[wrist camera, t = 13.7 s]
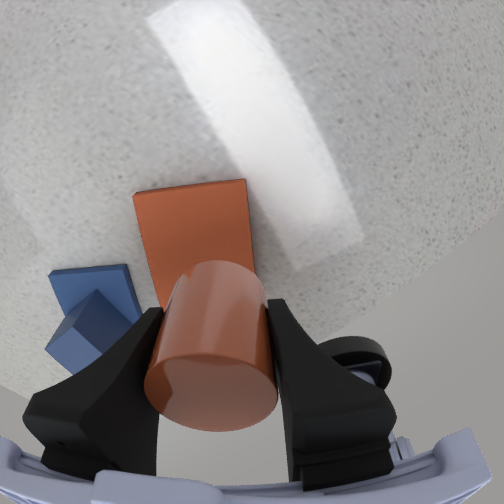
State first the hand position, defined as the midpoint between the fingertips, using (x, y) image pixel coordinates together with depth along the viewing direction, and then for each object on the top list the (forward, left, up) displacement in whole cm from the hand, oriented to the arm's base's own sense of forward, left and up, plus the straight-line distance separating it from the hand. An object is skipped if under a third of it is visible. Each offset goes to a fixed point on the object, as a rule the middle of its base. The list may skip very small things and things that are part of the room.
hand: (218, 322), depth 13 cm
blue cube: (-6, +11, -8) cm, 14 cm away
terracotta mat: (-1, +2, -8) cm, 9 cm away
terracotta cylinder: (0, 0, -1) cm, 1 cm away
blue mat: (-6, +11, -8) cm, 15 cm away
